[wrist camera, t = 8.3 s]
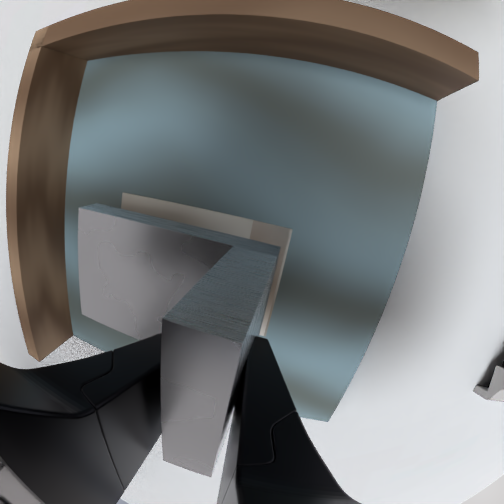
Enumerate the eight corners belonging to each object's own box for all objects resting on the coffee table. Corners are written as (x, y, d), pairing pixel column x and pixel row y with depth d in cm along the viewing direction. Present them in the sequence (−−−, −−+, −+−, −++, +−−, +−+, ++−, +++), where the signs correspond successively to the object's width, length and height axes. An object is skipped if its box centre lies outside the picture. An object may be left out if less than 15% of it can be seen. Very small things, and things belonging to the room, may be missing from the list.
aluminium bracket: (280, 246, 10) (242, 344, 4) (253, 358, 12) (211, 477, 6) (97, 203, 11) (-19, 235, 5) (96, 303, 13) (10, 366, 7)
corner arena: (328, 415, 15) (326, 471, 11) (67, 325, 18) (28, 353, 14) (433, 81, 9) (478, 52, 5) (85, 48, 12) (35, 31, 8)
